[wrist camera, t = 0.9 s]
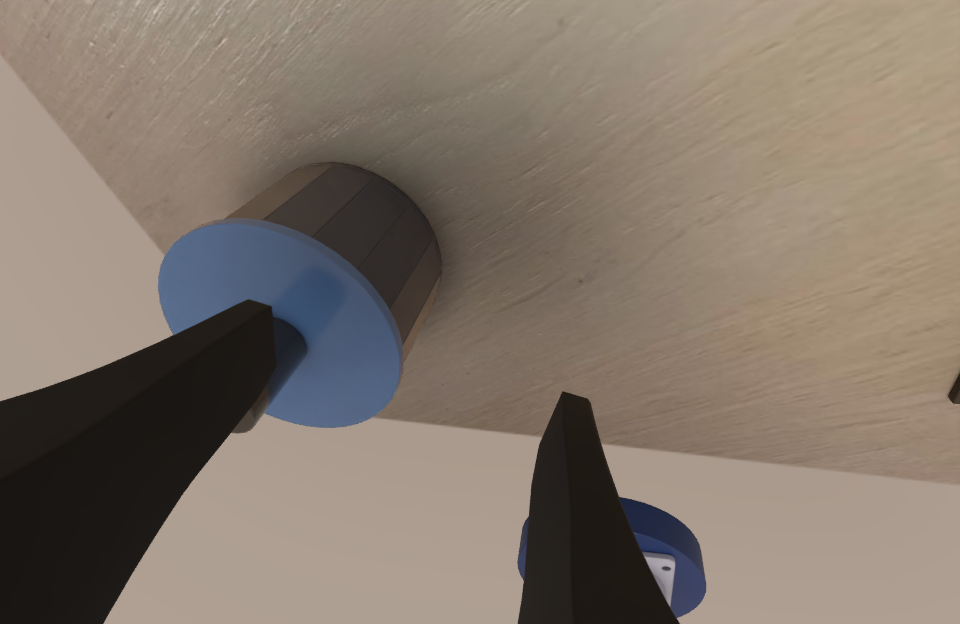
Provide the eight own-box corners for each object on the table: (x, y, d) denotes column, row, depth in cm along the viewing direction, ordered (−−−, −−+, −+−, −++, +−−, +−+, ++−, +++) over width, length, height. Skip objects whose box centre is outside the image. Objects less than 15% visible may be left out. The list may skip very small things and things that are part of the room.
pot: (457, 328, 26) (420, 419, 21) (303, 328, 28) (237, 410, 23) (418, 153, 21) (356, 217, 16) (234, 171, 23) (128, 232, 18)
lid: (433, 414, 21) (395, 512, 18) (241, 405, 24) (174, 489, 20) (369, 200, 16) (296, 276, 12) (130, 218, 18) (9, 285, 15)
